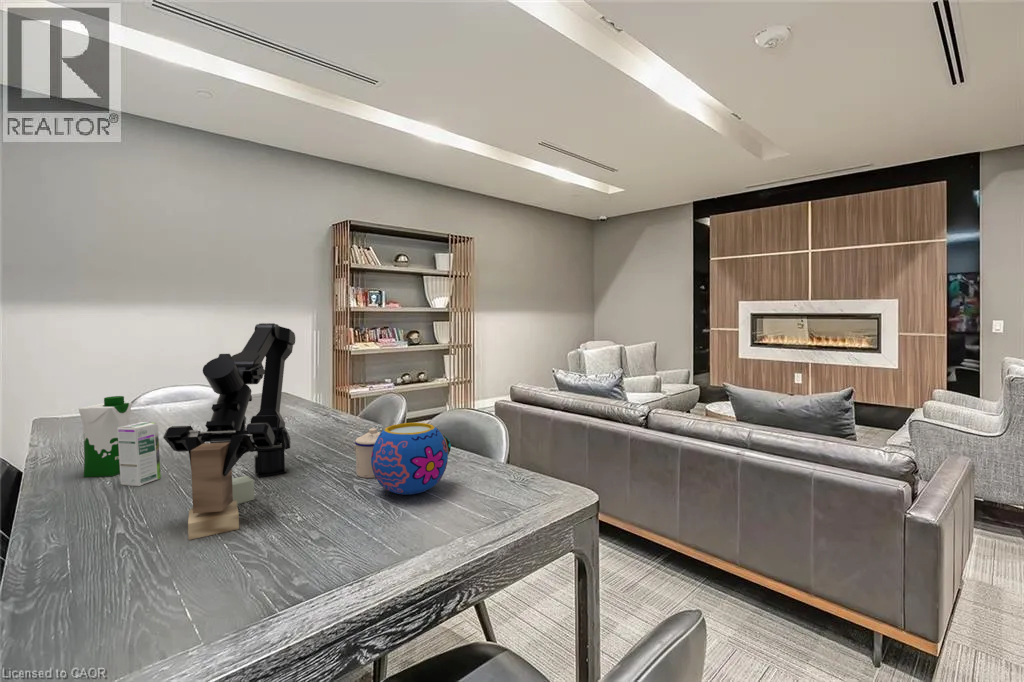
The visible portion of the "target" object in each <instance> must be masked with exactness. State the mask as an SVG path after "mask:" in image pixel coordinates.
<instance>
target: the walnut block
mask: <svg viewBox="0 0 1024 682" xmlns="http://www.w3.org/2000/svg"><path fill="white" fill-rule="evenodd" d="M229 444H230V442H224V443H210V442H205V443H203V444H201V445H200V446H198V447H196V448H194V449H193V450H191V464H190V471H191V492H192V493H191V494H192V495H191V497H192V508H193V513H205V512H219V511H223V510H224V509H225V508H226V507H227V506H228V505H229V504H230V503H231V502H232V501H233V489H232V479H233V468H232V469H231V470H230V472H229V473H228V474H227V475H226V476H224V475H223V467H224V462H225V459H226V455H227V452H228V448H229Z"/></svg>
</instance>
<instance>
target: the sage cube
mask: <svg viewBox="0 0 1024 682" xmlns="http://www.w3.org/2000/svg"><path fill="white" fill-rule="evenodd" d="M232 489H233V501H235V500H237V505H239V504H243V503H246V502H249V501H253V500H255V497H256V496H255V479H253V478H251V477H250V476H248V475H244V476H239V477H235V478H232Z"/></svg>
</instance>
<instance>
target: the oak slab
mask: <svg viewBox="0 0 1024 682" xmlns="http://www.w3.org/2000/svg"><path fill="white" fill-rule="evenodd" d="M238 507H239V506H238V504H237V500H235V501H232V502H231V503H230V504H229V505H228V506H227V507H226V508H225V509H224V510H223V511H219V512H205V513H193V507H192V508H189V509H188V511H189V512H188V519H187V521H188V522H187V531H188V532H187V533H188V541H190V540H194V539H199V538H203V537H208V536H212V535H218V534H222V533H227V532H231V531H235V530H240V516H239V515H240V513H239V508H238Z"/></svg>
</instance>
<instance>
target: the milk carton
mask: <svg viewBox="0 0 1024 682" xmlns="http://www.w3.org/2000/svg"><path fill="white" fill-rule="evenodd" d="M131 410H132V402H125V396H124V395H116V396H106V397H104V398H103V402H102V403H96V404H93V405H87V406H83V407H80V408H79V407H78V413H79V415H80V419H81V421H82V428H83V429H82V430H83V431H82V433H83V453H84V459H83V478H94V477H95V478H97V477H98V478H99V477H102V478H103V477H114V476H116V475H120V463H119V447H118V431H117V428H118V427H123V426H127V425H130V415H131Z"/></svg>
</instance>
